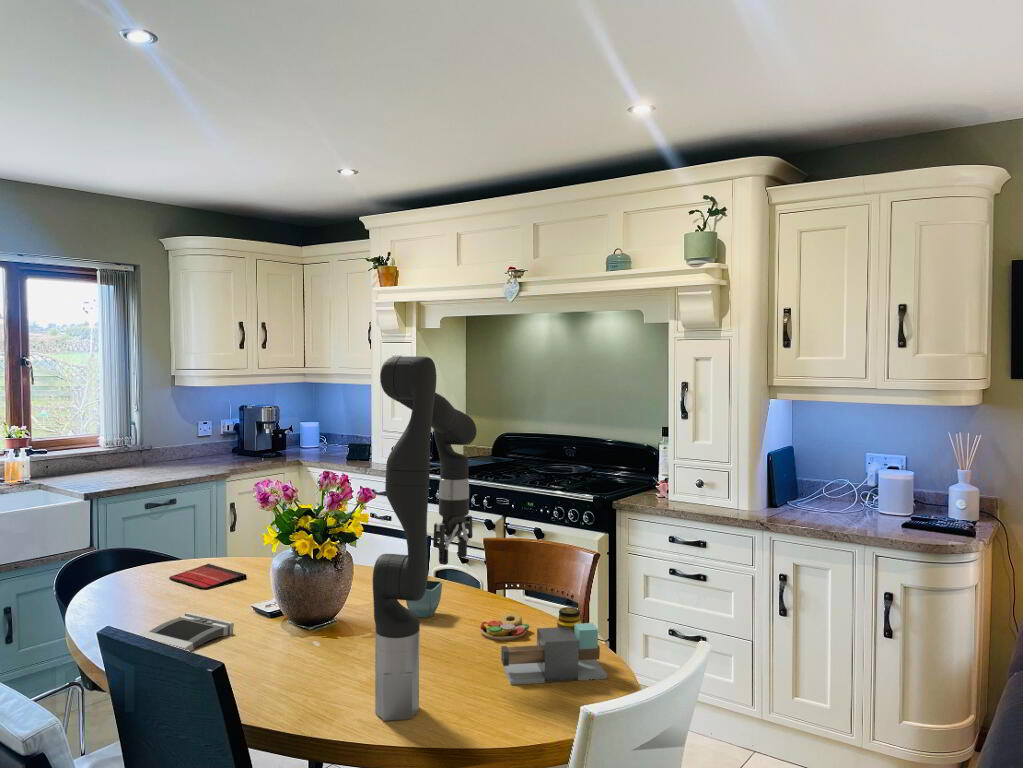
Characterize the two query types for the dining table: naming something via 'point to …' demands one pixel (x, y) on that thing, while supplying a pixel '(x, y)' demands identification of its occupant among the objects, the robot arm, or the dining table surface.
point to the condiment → (568, 617)
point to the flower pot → (427, 600)
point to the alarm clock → (190, 631)
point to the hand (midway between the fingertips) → (453, 560)
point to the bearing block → (558, 653)
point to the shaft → (538, 654)
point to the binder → (208, 577)
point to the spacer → (586, 635)
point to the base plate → (534, 675)
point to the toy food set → (504, 628)
